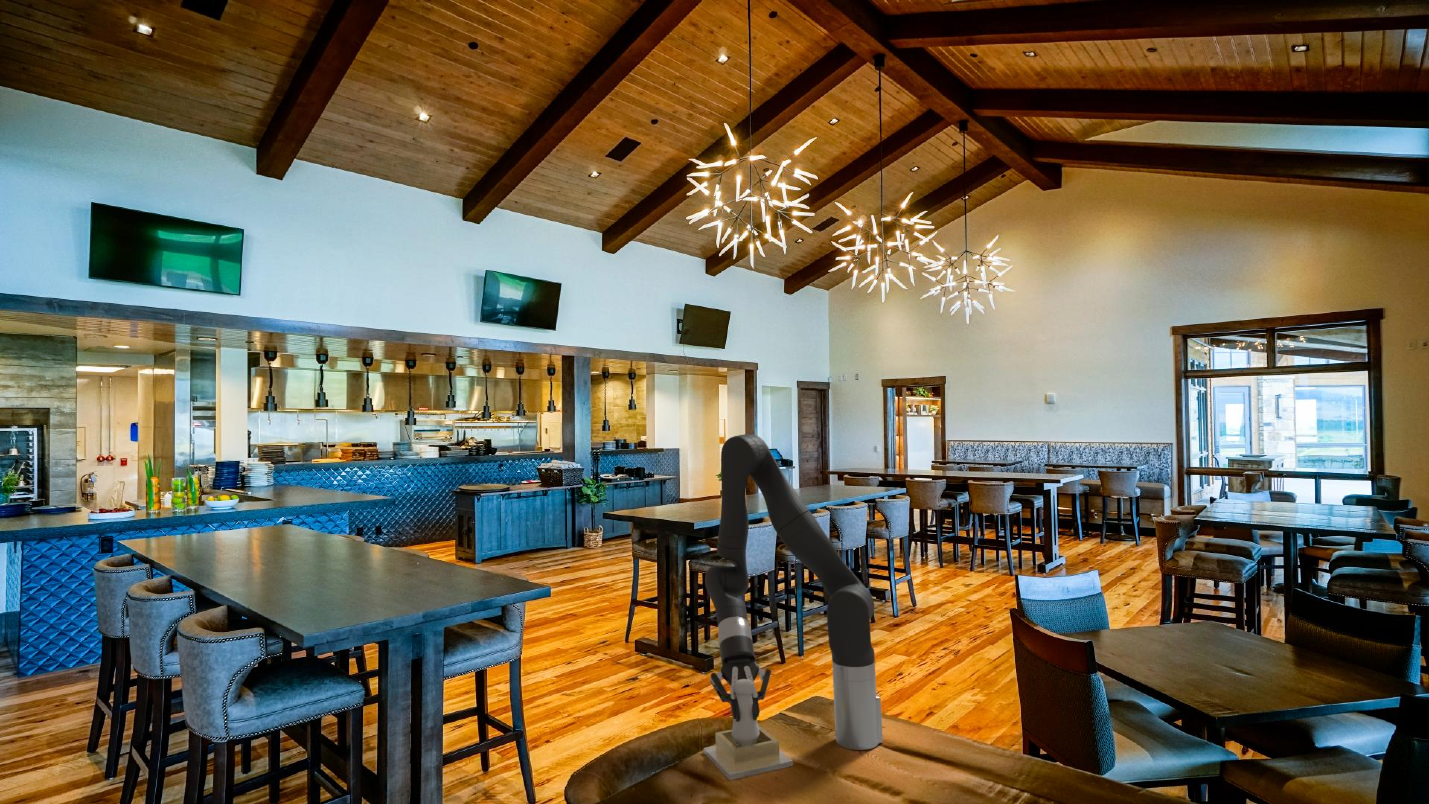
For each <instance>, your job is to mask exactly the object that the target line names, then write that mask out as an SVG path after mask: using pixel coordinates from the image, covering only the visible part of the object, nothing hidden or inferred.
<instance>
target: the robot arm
mask: <svg viewBox="0 0 1429 804" xmlns="http://www.w3.org/2000/svg"><path fill="white" fill-rule="evenodd" d="M720 453H721V454H720V473H721V506H720V520H719V527H718V528H719V529H718V535H717V545H716V553H717V555H718V557H720V558H723V559H726V560H729V561H732V562H734V566H733V565H730V566H729V565H713V566H710V567H709V568H708V569H707V571H706V573H705V576H704V585H705V588H706V589H705V590H706V591H707V594H708V596H709V598H710V600H711V603H712V605H713V607H714V609H715V614H716V622H717V628H718V629H717V636H718V646H719V653H720V662H721V667H720V671H718V672H711V674H710V679H709V683H710V684H711V685H712V687H713V689H714V690H715V692H716V694H717V695H718V697H719V699H720V701H721V703H728V704H729V705H730V710H731V717H732V719H736V722H738V721H740V712H739V705H738V700H736V698H737V694H736V693H735V691H734V684H735V682H736V681H737V680H741V679H748V680H751V681H752V682H753V683H754V686H755V690H754V693H752V694H751V695H752V700H753V704H752V707H753V720H757V721H758V718H759V716H760V713H761V712H760V711H761V710H760V704H759V701H761V700H765V697H766V693H767V689H768V687H769V686H768V685H769V682H770V679H771V673H772V671H771V669H769V668H766V669H763V668H760V666H759V664H758V663H757V660H756V655H755V650H754V648H755V647H754V643H753V636H752V631H751V627H750V625H749V620H748V614H747V612H748V611H747V607H746V603H745V601H743V600H742V598H739V597H742V596H743V595H745V594H746V593H747V591H748V589H749V587H750V586H749V585H750V581H749V579H750V578H749V574H748V567H747V542H748V538H749V537H748V536H749V525H750V524H749V523H750V522H749V514H748V509H747V503H746V501H747V500H746V499H747V498H746V494H747V493H746V489H747V486H748V485H747V483H748V480H749V478H751V479H752V480H753V482H754V483H755V484H756V486H757V487H758V489H759V490H760V492H761V495H762V496H763V499H764V502H765V505H766V509H767V513H768V517H769V520H770V523H771V524H772V527H773V529H774V531H775V532H776V534H777V536H778V537H779V538H780V540H781V541H782V543H783V544H784V545H785V547H786V548H787V549H788V550H789V551H788V552H790V553H791V554H792V555H793V557H795V558H796V559H797V560H798V561H799V562H801V564H803V565H804V566H805V567H806V568H807V569H808V570H809V571H811V572H812V574H814V575H815V576H816V578H817V579H818V581H819V582H820V583H821V585H822V586H823V588H824V590H825V592H827V594H828V596H829V600H828V602H827V607H826V619H827V620H826V622H827V633H828V646H829V650H830V653H831V663H832V683H833V685H832V687H833V707H834V708H833V709H834V710H833V711H834V728H835V730H834V731H835V742H836V744H837V745H839V746H840V747H843V748H845V749H848V750H854V751H855V750H856V751H863V750H864V751H865V750H870V749H873V748H876V747H877V746H879V744H881V743H883V742H884V741H883V739H884V738H883V737H884V736H883V721H882V720H883V718H882V703H881V701H882V699H881V697H880V696H879V695H877V679H876V678H877V676H876V663H875V662H876V659H875V655H876V654H875V649H874V647H873V645H872V640H871V623H870V622H871V619H872V618H873V615H874V613H875V601H874V598H873V595H872V594H871V592H870V591H869V590H868V588H867V587H866V586H865V585H864V583H862V581H861V580H860V579H859V578H858V577H857V576H856V574H854V572H853V571H852V570H851V569H850V567H849V566H848V565H847V564H846V563H845V561H844V560H843V558H842V557H841V556H840V554H839V552H838V551H837V549H836V548H835V546H834V545H833V543H832V541H831V540H830V538H829V537H828V535H827V534H826V533H825V531H824V530H823V528H822V526H821V525H820V523H819V522H818V520H817V519H816V518H815V516H814V515H813V514H812V512H811V511H810V509H809V508H808V506H807V505H806V504H805V503H804V501H803V500H802V498H801V497H800V496H799V494H798V492H797V491H796V490H795V488H794V487H793V486H792V484H791V482H790V481H789V480H788V479H787V477H786V476H785V475H784V472H783V471H782V470H781V468H780V466H779V464H778V462H777V461H776V458H775V457H774V455H773V453H772V451H771V450H770V448H769V446H768V445H767V443H766V441H765V440H764V439H762V437H760V436H758V435H756V434H752V433H747V434H746V433H744V434H738V435H734V436H732V437H731V436H730V437H729V438H728V439H727V440H726V441H725V442H724V443H723V445H722V447H721V452H720ZM758 676H759V679H760V681H761V685H760V686H761V687H760V690H759V691H757V688H756V683H755V680H756V678H758ZM723 680H725V682H726V683H727V684H728V685H729V686H730V689H729V691H730V693H728V691H727V690H726V689H725V686H724V685H723V683H722V681H723Z"/></svg>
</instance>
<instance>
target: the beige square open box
mask: <svg viewBox="0 0 1429 804" xmlns="http://www.w3.org/2000/svg"><path fill="white" fill-rule="evenodd" d="M758 727H759V737H758V740H757V743H756V744H753V745H748V746H743V747H738V746H737V745H736V744H735V741H734V739H733V737H732V729H728V730H723V731H718V732H715V734H714V735H715V745H712V746H707V747H704V748H703V753H704V752H705V753H704V754H706V755H707V756H706V755H705V756H706V757H707V758H708V759H709V760H710V761H711V762H712V763H713V764H714V765H715V766H716V767H717V769H718V770H719V771H720V772H722V774H723V775H724V776H725V777H726V779H728V780H729V781H734V780H737V779H742V778H745V777H746V776H747V777H751V776H755V775H760V774H764V773H767V772H772V771H777V770H782V769H786V768H790V767H789V766H791V767H794V760H792V759H791V758H790V757H789V756H788V755H787V754H785V753H784V752H783V751H782V750H781V749H780V740H778V739H777V738H775V737H774V735H772V734H770V733H769V732H768V731H767V730H766V729H764V728H763V727H761V726H760V725H759V724H758ZM750 775H751V776H750Z"/></svg>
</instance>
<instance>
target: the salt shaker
mask: <svg viewBox="0 0 1429 804" xmlns="http://www.w3.org/2000/svg"><path fill="white" fill-rule="evenodd" d="M754 683H755V682H754ZM754 683H753V682H752V681H751V680H748V679H741V680H737V681H736V682H735V684H734V691H735V693H736V694H737V698H736V700H738V705H739V712H740V721H738V722H736V719H733V718H732V719H733V721H732V726H731V727H732V728H731V730H732V737H733V739H734V741H735V744H736V745H737V746H738V747H743V746H748V745H753V744H756V743H757V740H758V737H759V727H758V725H759V724H758V719H757V720H753V707H752V704H753V700H752V695H751V694H752V693H754V690H755V688H756V685H755V686H754Z"/></svg>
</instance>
